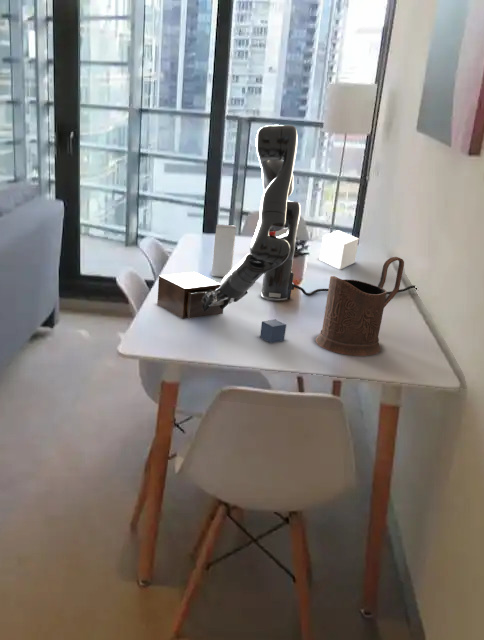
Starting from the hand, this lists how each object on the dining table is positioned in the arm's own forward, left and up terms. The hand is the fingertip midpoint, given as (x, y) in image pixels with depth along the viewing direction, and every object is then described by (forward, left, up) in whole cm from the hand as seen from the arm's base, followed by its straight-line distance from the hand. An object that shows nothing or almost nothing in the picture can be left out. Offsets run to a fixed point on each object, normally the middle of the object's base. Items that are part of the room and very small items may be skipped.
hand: (212, 307), depth 220 cm
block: (-14, +16, -5) cm, 22 cm away
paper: (-77, -74, -5) cm, 107 cm away
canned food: (-49, -87, -5) cm, 100 cm away
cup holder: (-38, +21, -5) cm, 44 cm away
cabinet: (+4, -13, -5) cm, 14 cm away
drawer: (+2, -7, -4) cm, 9 cm away
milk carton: (-20, -54, -5) cm, 58 cm away
